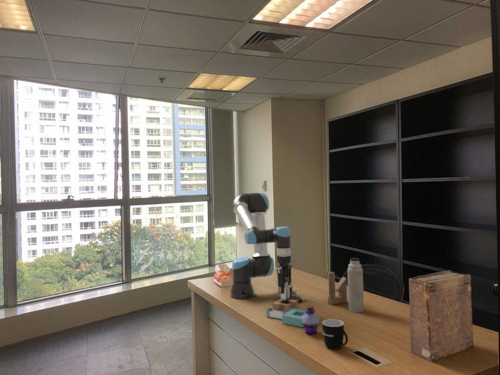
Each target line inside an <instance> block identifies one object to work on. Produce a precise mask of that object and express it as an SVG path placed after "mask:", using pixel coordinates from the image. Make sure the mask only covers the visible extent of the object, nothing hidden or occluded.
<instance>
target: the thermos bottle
mask: <svg viewBox="0 0 500 375" xmlns="http://www.w3.org/2000/svg"><path fill="white" fill-rule="evenodd" d="M347 267H348V268H347V303H348V311H349V312H352V313H363V312H364V311H365V305H364V303H365V300H364V298H365V297H364V274H363V272H364V269H363V268H362V264H361V263H360V257H359V258H358V257H351V258H349V264H348V266H347Z"/></svg>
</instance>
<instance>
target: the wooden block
mask: <svg viewBox="0 0 500 375" xmlns="http://www.w3.org/2000/svg"><path fill="white" fill-rule="evenodd" d="M327 275H328V297H327V304H329V305H330V306H333V305H340V304H345V303H348V281H347V278H346V277H344V276H342V277H341V278H340V280H339V281H338V283H337V284H336V273H335V272H334V271H329V272H327ZM337 292H338V293H337ZM336 293H337V294H338V295H336Z"/></svg>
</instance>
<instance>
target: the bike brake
mask: <svg viewBox="0 0 500 375" xmlns="http://www.w3.org/2000/svg"><path fill="white" fill-rule="evenodd" d="M293 286H294V285H293V284H291V285H290V286H289V294H290V297H289V299H293V298H292V297H293V296H294V297H297V298H298V299H299V300H297V301H298V304H299V303H301V302H306V301H307V298H305V297H304V296H302V295H300V294H298V293H297V292H298V291H297V290H294V288H293ZM277 291H278V292H276V295H277V297H278V298H281V288H280V287H278V289H277Z"/></svg>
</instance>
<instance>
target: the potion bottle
mask: <svg viewBox="0 0 500 375" xmlns="http://www.w3.org/2000/svg"><path fill="white" fill-rule="evenodd" d="M305 310H306V313H307V315H304V316H302V321H303V322H302V326H303V325H304V326H303V327H302V328H304V333H305V335H308V336H311V335H312V336H314V335H316V334H318V333H317V331H318V326H319V323H320V317H319V316H318V315H315V313H316V311H315V310H316V309H315V308H314V306H312V305H311V306H310V305H307V306H306V308H305ZM313 313H314V315H313Z"/></svg>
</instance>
